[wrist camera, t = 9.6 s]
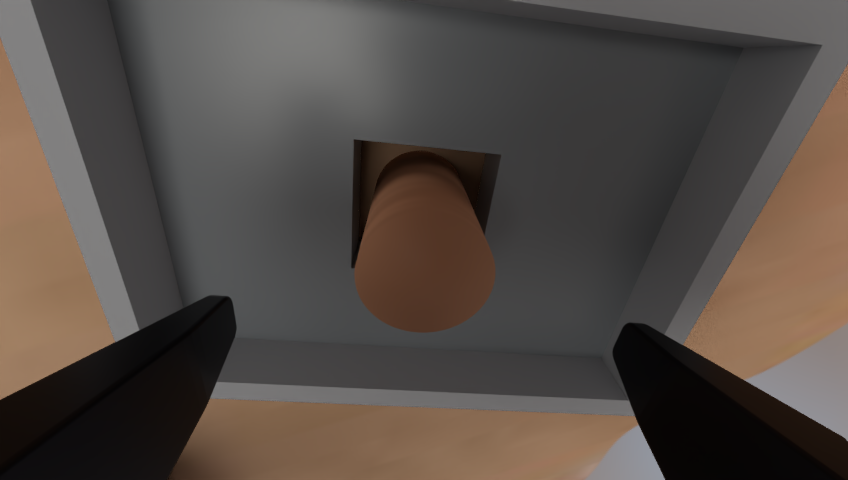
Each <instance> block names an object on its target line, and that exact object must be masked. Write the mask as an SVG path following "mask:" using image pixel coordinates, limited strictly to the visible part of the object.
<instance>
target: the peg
mask: <svg viewBox="0 0 848 480" xmlns="http://www.w3.org/2000/svg"><path fill="white" fill-rule="evenodd" d="M354 276H355V285H356V289H357V292H358V294H359V297H360V299H361V300H362V302H363V304H364V305H365V306H366V308H367V309H368V310H369V311H370V312H371V313H372V314H373V315H374V316H375V317H377V318H378V319H379V320H381V321H382V322H384V323H386V324H388V325H390V326H392V327H394V328H397V329H401V330H405V331H409V332H418V333H428V332H437V331H442V330H446V329H449V328H452V327H454V326H457V325H459V324H461V323H463V322H464V321H466V320H468V319H469V318H470V317H472V316H473V315H474V314H475V313H477V312H478V311H479V310H480V308H481V307H482V306H483V305H484V304H485V302H486V301H487V299H488V298H489V296H490V293H491V291H492V289H493V285H494V281H495V262H494V258H493V255H492V252H491V250H490V247H489V245H488V243H487V240H486V238H485V236H484V233H483V231H482V229H481V226H480V224H479V222H478V219H477V217H476V215H475V212H474V210H473V208H472V205H471V203H470V201H469V198H468V196H467V194H466V191H465V189H464V187H463V184H462V182H461V180H460V177H459V175H458V173H457V171H456V170H455V168H454V167H453V166H452V165H451V164H450V163H449V162H448V161H447V160H446V159H444V158H442V157H441V156H439V155H437V154H434V153H431V152H426V151H412V152H408V153H404V154H402V155H399V156H398V157H396V158H394V159H393V160H391V161H390V162H389V163H388V164H387V165H386V166H385V167H384V169H383V170H382V172H381V173H380V175H379V178H378V180H377V184H376V188H375V192H374V196H373V199H372V203H371V207H370V211H369V215H368V219H367V222H366V226H365V230H364V234H363V238H362V242H361V245H360V249H359V253H358V257H357V261H356V265H355V273H354Z"/></svg>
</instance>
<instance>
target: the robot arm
mask: <svg viewBox="0 0 848 480" xmlns="http://www.w3.org/2000/svg"><path fill="white" fill-rule="evenodd" d="M236 330H237V325H236V318H235V313H234V307H233V302H232V299H231V298H230V297H229V296H221V295H209V296H206V297H204V298H202V299H200V300H198V301H196V302H194V303H192V304H190V305H188V306H186V307H184V308H182V309H180V310H178V311H176V312H174V313H172V314H170V315H168V316H166V317H164V318H162V319H160V320H159V321H157V322H155V323H153V324H151V325H149V326H147V327H145V328H143V329H141V330H139V331H137V332H135V333H133V334H131V335H129V336H127V337H125V338H123V339H121V340H119V341H117V342H115V343H113V344H111V345H109V346H107V347H105V348H103V349H101V350H99V351H97V352H95V353H93V354H91V355H89V356H87V357H85V358H83V359H81V360H79V361H77V362H75V363H73V364H71V365H69V366H67V367H65V368H63V369H61V370H59V371H57V372H55V373H53V374H51V375H49V376H47V377H45V378H43V379H41V380H39V381H37V382H35V383H33V384H31V385H29V386H27V387H25V388H23V389H21V390H19V391H17V392H15V393H13V394H11V395H9V396H7V397H5V398H3V399H1V400H0V480H167V479H168V477H169V476H170V474H171V472H172V470H173V468H174V466H175V464H176V462H177V461H178V459H179V457H180V455H181V453H182V451H183V449H184V447H185V446H186V444H187V442H188V440H189V438H190V436H191V434H192V433H193V431H194V429H195V427H196V425H197V423H198V421H199V419H200V418H201V416H202V414H203V412H204V410H205V408H206V406H207V404H208V402H209V399H210V397H211V395H212V393H213V390H214V388H215V385H216V383H217V380H218V378H219V375H220V373H221V370H222V368H223V365H224V363H225V360H226V358H227V356H228V353H229V351H230V348H231V346H232V343H233V341H234V338H235V335H236ZM612 355H613V359H614V362H615V365H616V367H617V370H618V373H619V375H620V378H621V381H622V383H623V386H624V389H625V391H626V394H627V396H628V399H629V402H630V404H631V407H632V410H633V412H634V415H635V417H636V420H637V422H638V424H639V426H640V428H641V430H642V432H643V435H644V437H645V439H646V441H647V443H648V445H649V447H650V449H651V451H652V453H653V455H654V457H655V459H656V461H657V463H658V465H659V468H660V470H661V472H662V474H663V476H664V478H665V480H848V441H847V440H846V439H845V438H844V437H842V436H840V435H839V434H837V433H835V432H833V431H832V430H830V429H828V428H826V427H825V426H823V425H821V424H819V423H818V422H816V421H814V420H812V419H810V418H809V417H807V416H805V415H804V414H802V413H800V412H798V411H797V410H795V409H793V408H791V407H790V406H788V405H786V404H784V403H783V402H781V401H779V400H778V399H776V398H774V397H772V396H771V395H769V394H767V393H765V392H764V391H762V390H760V389H758V388H757V387H755V386H753V385H751V384H750V383H748V382H746V381H744V380H743V379H741V378H739V377H738V376H736V375H734V374H732V373H731V372H729V371H727V370H725V369H724V368H722V367H720V366H718V365H717V364H715V363H713V362H711V361H710V360H708V359H706V358H704V357H703V356H701V355H699V354H697V353H696V352H694V351H692V350H690V349H689V348H687V347H685V346H683V345H682V344H680V343H678V342H676V341H675V340H673V339H671V338H670V337H668V336H666V335H664V334H663V333H661V332H659V331H657V330H656V329H654V328H652V327H650V326H649V325H647V324H644V323H632V322H629V323H626V324H625V325H624V326H623V327H622V330H621V332H620V334H619V336H618V338H617V340H616V342H615V344H614V347H613V351H612Z"/></svg>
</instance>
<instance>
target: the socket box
mask: <svg viewBox="0 0 848 480" xmlns="http://www.w3.org/2000/svg"><path fill="white" fill-rule="evenodd" d="M0 38H1V40H2V43H3V46H4V48H5V51H6V54H7V56H8V59H9V62H10V64H11V67H12V69H13V72H14V75H15V77H16V80H17V83H18V85H19V88H20V91H21V93H22V96H23V99H24V101H25V104H26V107H27V109H28V112H29V115H30V117H31V120H32V122H33V125H34V128H35V130H36V133H37V136H38V138H39V141H40V144H41V146H42V149H43V152H44V154H45V157H46V160H47V162H48V165H49V168H50V170H51V173H52V175H53V178H54V181H55V183H56V186H57V189H58V191H59V194H60V197H61V199H62V202H63V205H64V207H65V210H66V213H67V215H68V218H69V221H70V223H71V226H72V228H73V231H74V234H75V236H76V239H77V242H78V244H79V247H80V250H81V252H82V255H83V258H84V260H85V263H86V266H87V268H88V271H89V274H90V276H91V279H92V281H93V284H94V287H95V289H96V292H97V295H98V297H99V300H100V303H101V305H102V308H103V311H104V313H105V316H106V319H107V321H108V324H109V327H110V329H111V332H112V334H113V337H114V340H115V342H117V341H119V340H121V339H123V338H125V337H127V336H129V335H131V334H133V333H135V332H137V331H139V330H141V329H143V328H145V327H147V326H149V325H151V324H153V323H155V322H157V321H159V320H160V319H162V318H164V317H166V316H168V315H170V314H172V313H174V312H176V311H178V310H180V309H182V308H184V307H186V306H188V305H190V304H192V303H194V302H196V301H198V300H200V299H202V298H204V297H206V296H209V295H221V296H229V297H230V298H231V299H232V302H233V307H234V313H235V318H236V325H237V330H236V335H235V338H234V341H233V343H232V346H231V348H230V351H229V353H228V356H227V358H226V360H225V363H224V365H223V368H222V370H221V373H220V375H219V378H218V380H217V383H216V385H215V388H214V390H213V393H212V395H211V397H210V398H213V399H237V400H261V401H285V402H309V403H333V404H357V405H381V406H405V407H429V408H453V409H477V410H501V411H526V412H550V413H574V414H598V415H622V416H635V415H634V412H633V410H632V407H631V404H630V402H629V399H628V396H627V394H626V391H625V389H624V386H623V383H622V381H621V378H620V375H619V373H618V370H617V367H616V365H615V362H614V359H613V355H612V351H613V347H614V344H615V342H616V340H617V338H618V336H619V334H620V332H621V330H622V327H623V326H624V325H625V324H626V323H629V322H632V323H644V324H647V325H649V326H650V327H652V328H654V329H656V330H657V331H659V332H661V333H663V334H664V335H666V336H668V337H670V338H671V339H673V340H675V341H676V342H678V343H680V344H682V345H683V343H684V342H685V340H686V338H687V337H688V335H689V333H690V331H691V330H692V328H693V326H694V325H695V323H696V321H697V320H698V318H699V316H700V314H701V313H702V311H703V309H704V308H705V306H706V304H707V303H708V301H709V299H710V297H711V296H712V294H713V292H714V291H715V289H716V287H717V286H718V284H719V282H720V280H721V279H722V277H723V275H724V274H725V272H726V270H727V268H728V267H729V265H730V263H731V262H732V260H733V258H734V257H735V255H736V253H737V251H738V250H739V248H740V246H741V245H742V243H743V241H744V240H745V238H746V236H747V234H748V233H749V231H750V229H751V228H752V226H753V224H754V222H755V221H756V219H757V217H758V216H759V214H760V212H761V211H762V209H763V207H764V205H765V204H766V202H767V200H768V199H769V197H770V195H771V194H772V192H773V190H774V188H775V187H776V185H777V183H778V182H779V180H780V178H781V176H782V175H783V173H784V171H785V170H786V168H787V166H788V165H789V163H790V161H791V159H792V158H793V156H794V154H795V153H796V151H797V149H798V148H799V146H800V144H801V142H802V141H803V139H804V137H805V136H806V134H807V132H808V131H809V129H810V127H811V125H812V124H813V122H814V120H815V119H816V117H817V115H818V113H819V112H820V110H821V108H822V107H823V105H824V103H825V102H826V100H827V98H828V96H829V95H830V93H831V91H832V90H833V88H834V86H835V85H836V83H837V81H838V79H839V78H840V76H841V74H842V73H843V71H844V69H845V67H846V66H847V64H848V0H0ZM362 140H365V141H375V142H384V143H394V144H403V145H413V146H423V147H432V148H442V149H452V150H461V151H471V152H480V153H486V154H485V159H484V165H483V170H482V175H481V180H480V186H479V191H478V196H477V202H476V207H475V215H476V217H477V219H478V222H479V224H480V226H481V229H482V231H483V233H484V236H485V238H486V240H487V243H488V245H489V247H490V250H491V252H492V255H493V258H494V262H495V281H494V285H493V289H492V291H491V293H490V296H489V298H488V299H487V301H486V302H485V304H484V305H483V306H482V307H481V308H480V310H479V311H478V312H477V313H475V314H474V315H473V316H472V317H470V318H469V319H468V320H466V321H464V322H463V323H461V324H459V325H457V326H454V327H452V328H449V329H446V330H442V331H437V332H428V333H418V332H409V331H405V330H401V329H397V328H394V327H392V326H390V325H388V324H386V323H384V322H382V321H381V320H379V319H378V318H377V317H375V316H374V315H373V314H372V313H371V312H370V311H369V310H368V309H367V308H366V306H365V305H364V304H363V302H362V300H361V299H360V297H359V294H358V292H357V289H356V285H355V276H354V273H355V265H356V261H357V257H358V253H359V249H360V245H361V242H362V241H359V213H360V179H361V146H362Z"/></svg>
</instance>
